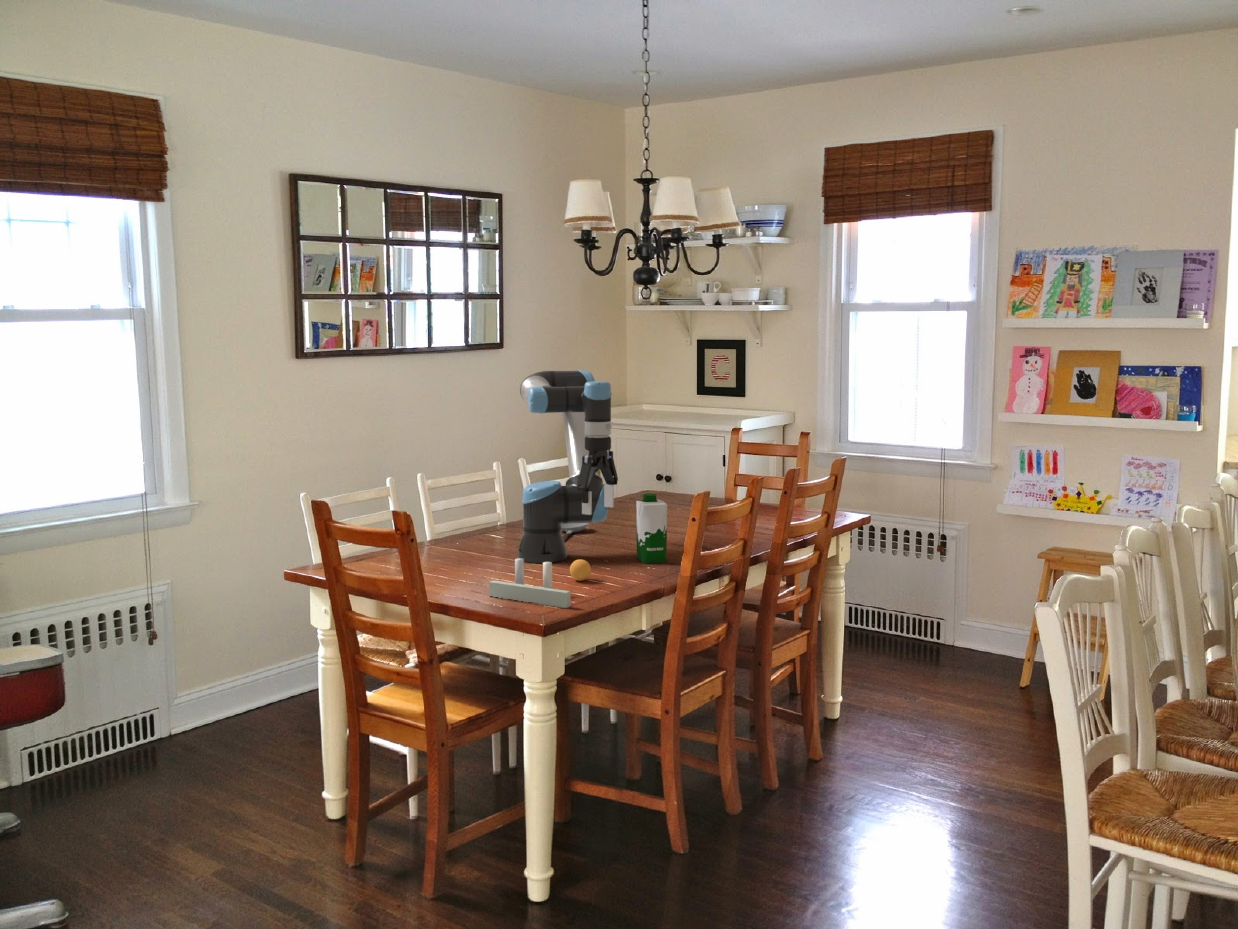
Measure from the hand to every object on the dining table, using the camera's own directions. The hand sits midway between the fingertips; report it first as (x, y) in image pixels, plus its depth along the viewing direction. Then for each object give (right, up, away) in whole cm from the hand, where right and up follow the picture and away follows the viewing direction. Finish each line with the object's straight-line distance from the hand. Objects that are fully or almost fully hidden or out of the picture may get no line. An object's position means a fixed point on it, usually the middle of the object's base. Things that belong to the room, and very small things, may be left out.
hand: (598, 510), depth 315 cm
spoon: (-12, -12, +53) cm, 56 cm away
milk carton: (+16, -16, +19) cm, 30 cm away
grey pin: (-21, -21, -16) cm, 34 cm away
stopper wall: (-17, -22, -28) cm, 40 cm away
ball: (-5, -16, -6) cm, 18 cm away
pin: (-13, -21, -21) cm, 32 cm away
